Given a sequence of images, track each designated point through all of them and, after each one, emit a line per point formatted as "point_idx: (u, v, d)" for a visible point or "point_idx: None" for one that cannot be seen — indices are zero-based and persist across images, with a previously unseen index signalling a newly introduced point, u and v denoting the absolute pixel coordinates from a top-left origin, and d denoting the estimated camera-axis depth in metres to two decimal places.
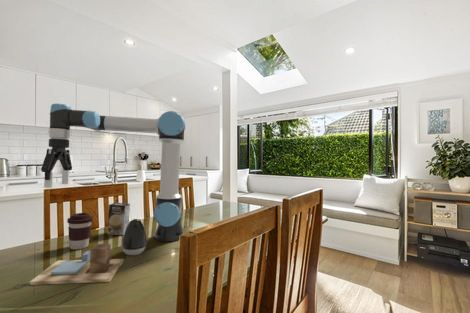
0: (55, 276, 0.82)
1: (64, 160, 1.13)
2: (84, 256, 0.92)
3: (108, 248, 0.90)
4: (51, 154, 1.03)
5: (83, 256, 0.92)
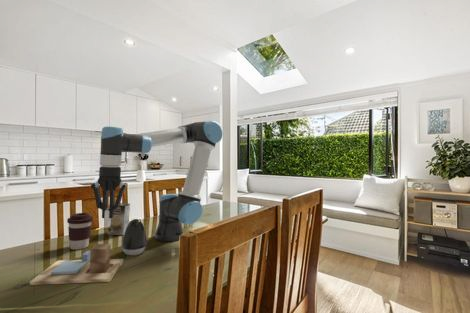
0: (55, 276, 0.82)
1: None
2: (84, 256, 0.92)
3: (108, 248, 0.90)
4: None
5: (83, 256, 0.92)
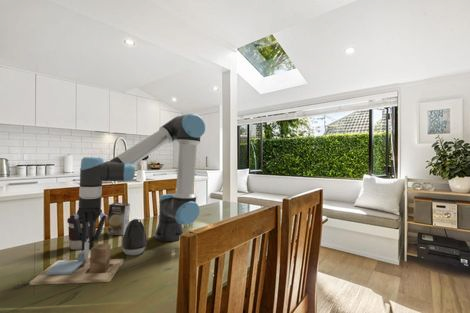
0: (55, 276, 0.82)
1: None
2: (80, 256, 0.91)
3: (108, 248, 0.90)
4: None
5: (79, 256, 0.91)
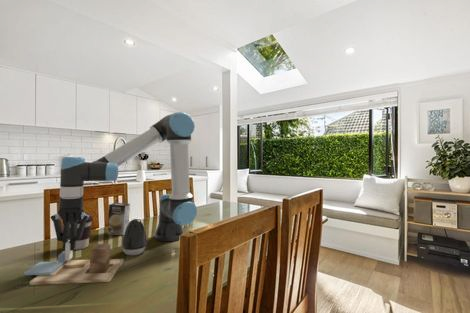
0: (55, 276, 0.82)
1: None
2: (60, 257, 0.90)
3: (108, 248, 0.90)
4: None
5: (59, 257, 0.90)
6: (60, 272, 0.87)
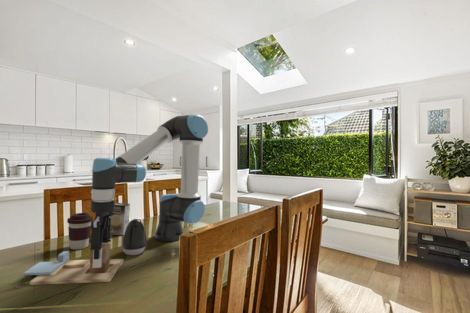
0: (55, 276, 0.82)
1: (105, 227, 0.91)
2: (60, 257, 0.90)
3: (108, 248, 0.90)
4: (97, 228, 0.83)
5: (59, 257, 0.90)
6: (60, 272, 0.87)
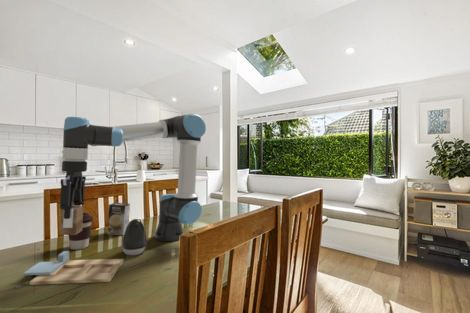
0: (55, 276, 0.82)
1: (78, 188, 0.89)
2: (60, 257, 0.90)
3: (80, 210, 0.88)
4: (67, 186, 0.82)
5: (59, 257, 0.90)
6: (60, 272, 0.87)
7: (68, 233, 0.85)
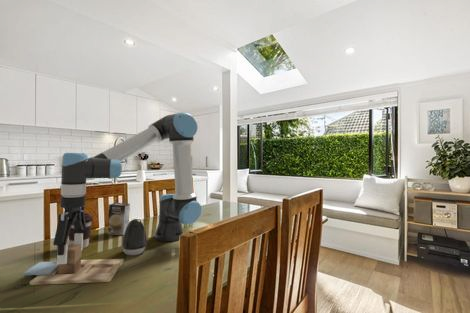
0: (55, 276, 0.82)
1: (78, 221, 0.90)
2: None
3: (79, 249, 0.88)
4: (64, 221, 0.81)
5: None
6: None
7: (66, 273, 0.85)
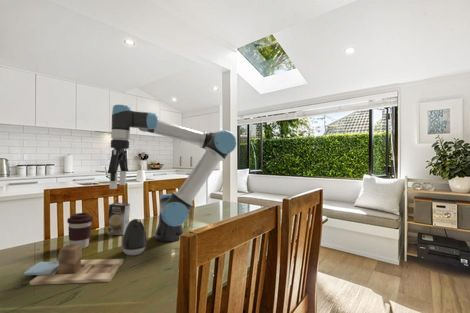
0: (55, 276, 0.82)
1: (123, 161, 1.13)
2: None
3: (79, 249, 0.88)
4: (116, 155, 1.03)
5: None
6: None
7: (66, 273, 0.85)
